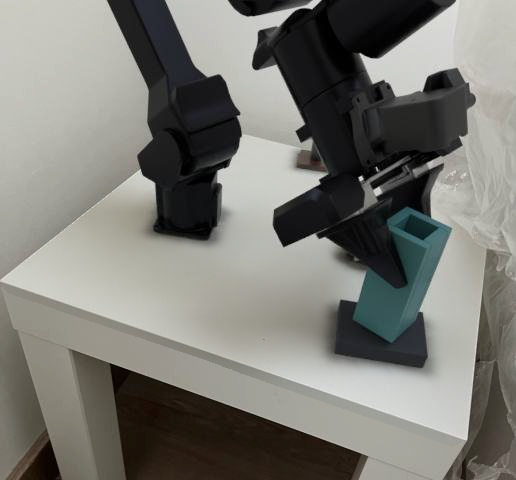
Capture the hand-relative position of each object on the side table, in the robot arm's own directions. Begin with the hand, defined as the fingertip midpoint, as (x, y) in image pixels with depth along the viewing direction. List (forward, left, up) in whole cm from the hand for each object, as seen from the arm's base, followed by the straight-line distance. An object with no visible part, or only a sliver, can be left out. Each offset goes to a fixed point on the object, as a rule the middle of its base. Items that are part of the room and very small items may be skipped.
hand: (416, 275), depth 43 cm
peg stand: (-10, +35, -8) cm, 37 cm away
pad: (-1, +1, -8) cm, 8 cm away
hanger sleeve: (-1, +1, -6) cm, 6 cm away
